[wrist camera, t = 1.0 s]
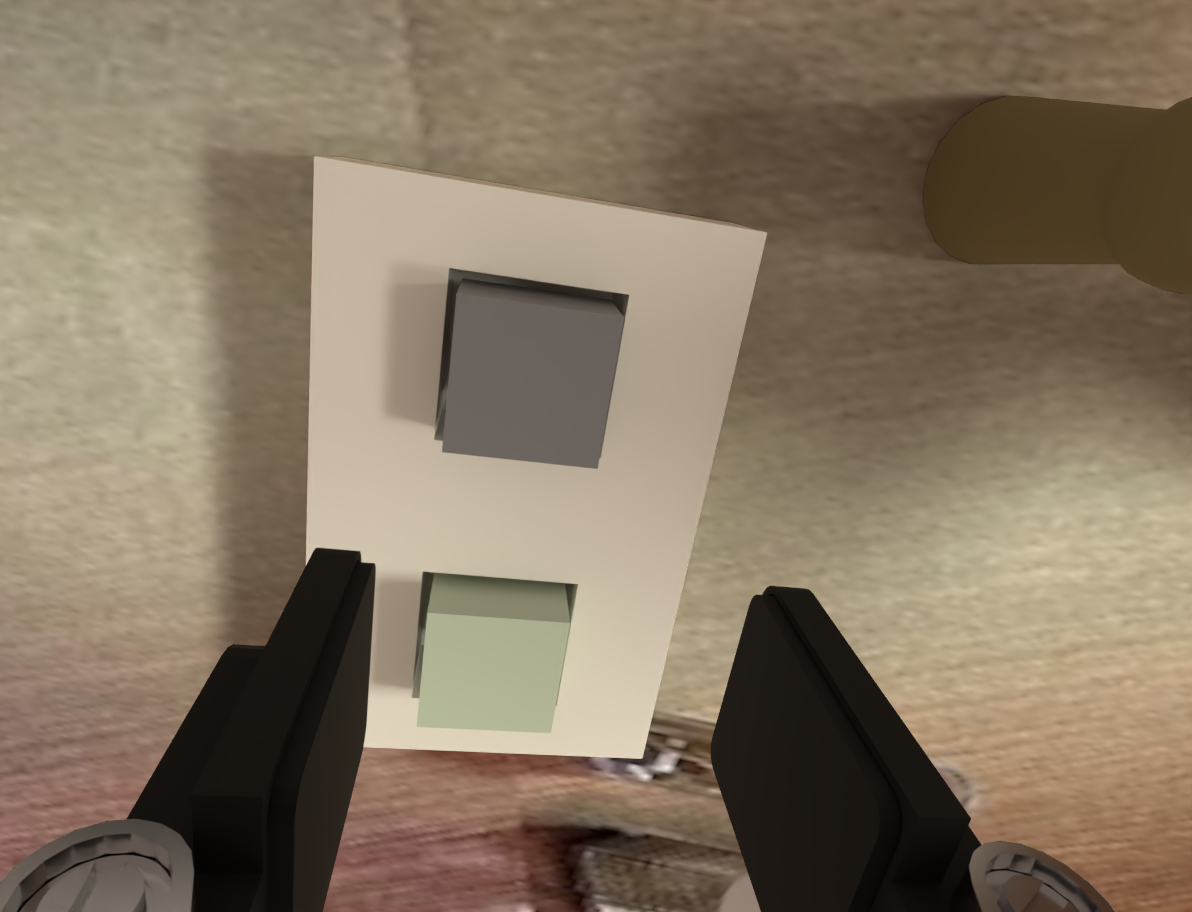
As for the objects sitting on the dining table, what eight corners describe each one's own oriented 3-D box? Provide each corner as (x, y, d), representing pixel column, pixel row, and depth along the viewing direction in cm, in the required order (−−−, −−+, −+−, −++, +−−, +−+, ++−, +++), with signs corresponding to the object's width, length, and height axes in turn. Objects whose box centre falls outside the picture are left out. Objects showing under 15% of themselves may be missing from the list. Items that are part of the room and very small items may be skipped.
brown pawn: (892, 218, 28) (1114, 251, 17) (991, 61, 26) (1301, -3, 16) (1006, 291, 29) (1270, 360, 19) (1106, 148, 27) (1454, 141, 17)
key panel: (732, 222, 27) (767, 232, 23) (628, 695, 35) (642, 758, 31) (343, 156, 25) (314, 156, 21) (325, 678, 33) (302, 744, 29)
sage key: (564, 578, 28) (570, 622, 26) (547, 680, 30) (550, 733, 27) (435, 567, 28) (427, 612, 25) (425, 673, 29) (416, 727, 27)
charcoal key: (611, 299, 25) (624, 317, 22) (588, 436, 26) (597, 468, 24) (462, 277, 24) (456, 293, 21) (449, 420, 26) (441, 452, 23)
